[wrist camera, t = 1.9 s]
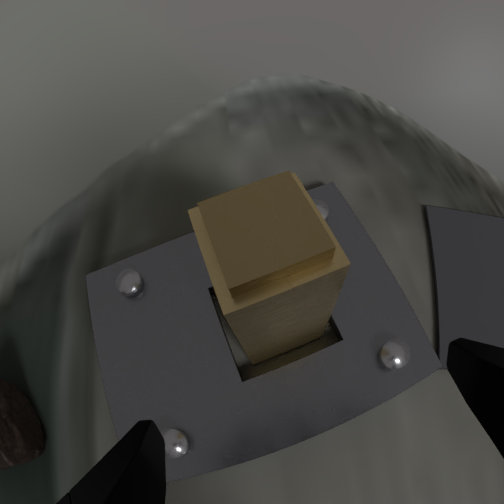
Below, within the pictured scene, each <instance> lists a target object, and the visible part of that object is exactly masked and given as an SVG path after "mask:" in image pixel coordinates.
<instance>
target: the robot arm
mask: <svg viewBox="0 0 504 504" xmlns="http://www.w3.org/2000/svg"><path fill="white" fill-rule="evenodd" d="M446 365H447V369H448V371H449V373H450V375H451V376H452V378H453V380H454V382H455V383H456V385H457V387H458V389H459V390H460V392H461V394H462V396H463V398H464V400H465V401H466V403H467V405H468V406H469V408H470V409H471V411H472V412H473V413H474V415H475V416H476V418H477V419H478V421H479V422H480V423H481V425H482V426H483V428H484V429H485V431H486V432H487V434H488V435H489V437H490V438H491V440H492V441H493V443H494V444H495V446H496V447H497V449H498V450H499V452H500V454H501V455H502V457H503V458H504V348H502V347H497V346H493V345H489V344H485V343H481V342H477V341H473V340H469V339H465V338H457V339H455V340H453V341H451V342H450V343H449V346H448V354H447V361H446ZM69 492H70V493H67V494H66V495H65V496H64V497H63V498H62V499H61V500H60V501H59V502H57V503H56V504H165V496H166V465H165V441H164V438H163V436H162V434H161V433H160V431H159V429H158V427H157V426H156V424H155V422H154V421H153V420H150V419H149V420H140V421H138V422H137V423H136V424H135V425H134V426H133V427H132V428H131V429H130V430H129V431H128V432H127V433H126V434H125V435H124V436H123V437H122V438H121V440H120V441H119V442H118V443H117V444H116V445H115V446H114V447H113V448H112V449H111V450H110V451H109V452H108V453H107V454H106V455H105V456H104V457H103V458H102V459H101V460H100V461H99V462H98V463H97V464H96V465H95V466H94V467H93V468H92V469H91V470H90V471H89V472H88V473H87V474H86V475H85V476H84V477H83V478H82V479H81V480H80V481H79V482H78V483H77V484H76V485H75V486H74V487H73V488H72V489H71V490H70V491H69Z"/></svg>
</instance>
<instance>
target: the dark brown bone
mask: <svg viewBox="0 0 504 504" xmlns="http://www.w3.org/2000/svg"><path fill="white" fill-rule="evenodd" d="M44 450H45V439H44V435H43V432H42V427H41V424H40V420H39V418H38V415H37V413H36V411H35V409H34V408H33V406H32V405H31V403H30V402H29V400H28V398H27V396H26V395H25V394H24V392H23V391H21V390H20V388H19V387H17V386H16V385H14V384H12V383H8V382H6V381H5V380H3V379H1V378H0V469H5V468H9V467H12V466H15V465H19V464H23V463H27V462H30V461H32V460H34V459H36V458H38V457H39V456H40V455H42V453H44Z"/></svg>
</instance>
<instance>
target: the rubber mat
mask: <svg viewBox="0 0 504 504" xmlns="http://www.w3.org/2000/svg"><path fill="white" fill-rule="evenodd" d="M425 212H426V218H427V224H428V231H429V238H430V245H431V253H432V262H433V271H434V282H435V295H436V312H437V357H438V359H439V361H440V363H441V365H442V367H441V368H439V369H447V365H446V361H447V354H448V346H449V343H450V342H451V341H453V340H455V339H457V338H465V339H469V340H473V341H477V342H481V343H485V344H489V345H493V346H497V347H502V348H504V218H499V217H494V216H488V215H483V214H477V213H471V212H465V211H459V210H453V209H447V208H440V207H434V206H427V205H426V207H425Z"/></svg>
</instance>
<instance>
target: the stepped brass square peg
mask: <svg viewBox="0 0 504 504" xmlns="http://www.w3.org/2000/svg"><path fill="white" fill-rule="evenodd" d="M197 204H198V206H197V207H195V208H192V209H189V210H188V213H189V216H190V219H191V223H192V226H193V229H194V232H195V235H196V238H197V241H198V244H199V247H200V250H201V252H202V255H203V258H204V261H205V264H206V267H207V270H208V273H209V276H210V279H211V281H212V284H213V287H214V290H215V293H216V295H217V298H218V301H219V304H220V307H221V309H222V312H223V315H224V317H225V318H226V320H227V322H228V324H229V325H230V327H231V329H232V331H233V332H234V334H235V336H236V337H237V339H238V341H239V342H240V344H241V346H242V348H243V349H244V351H245V353H246V354H247V356H248V358H249V359H250V361H251V363H252V364H253V365H255V364H258V363H261V362H263V361H266V360H268V359H271V358H273V357H276V356H278V355H281V354H283V353H286V352H288V351H290V350H293V349H295V348H298V347H300V346H302V345H305V344H307V343H309V342H312V341H314V340H316V339H318V338H321V337H322V335H323V332H324V330H325V328H326V325H327V323H328V321H329V318H330V316H331V313H332V311H333V308H334V306H335V303H336V301H337V298H338V296H339V293H340V291H341V288H342V286H343V283H344V281H345V278H346V275H347V273H348V270H349V267H350V265H351V263H350V261H349V260H348V258H347V256H346V255H345V253H344V251H343V249H342V248H341V246H340V244H339V243H338V241H337V239H336V238H335V236H334V234H333V233H332V231H331V229H330V228H329V226H328V224H327V223H326V221H325V219H324V218H323V216H322V215H321V213H320V211H319V210H318V208H317V207H316V205H315V203H314V202H313V200H312V199H311V197H310V195H309V194H308V192H307V191H306V189H305V188H304V186H303V184H302V183H301V181H300V180H299V178H298V177H297V175H296V174H295V172H294V173H290V172H289V171H286V172H283V173H280V174H277V175H274V176H271V177H268V178H265V179H262V180H259V181H257V182H254V183H251V184H248V185H245V186H242V187H239V188H237V189H234V190H231V191H228V192H225V193H223V194H220V195H217V196H214V197H212V198H209V199H206V200H204V201H201V202H198V203H197Z"/></svg>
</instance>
